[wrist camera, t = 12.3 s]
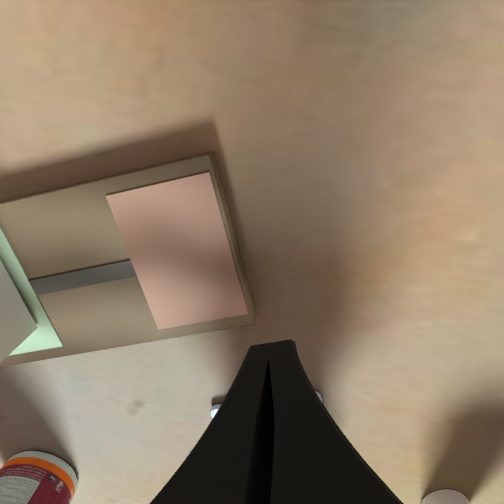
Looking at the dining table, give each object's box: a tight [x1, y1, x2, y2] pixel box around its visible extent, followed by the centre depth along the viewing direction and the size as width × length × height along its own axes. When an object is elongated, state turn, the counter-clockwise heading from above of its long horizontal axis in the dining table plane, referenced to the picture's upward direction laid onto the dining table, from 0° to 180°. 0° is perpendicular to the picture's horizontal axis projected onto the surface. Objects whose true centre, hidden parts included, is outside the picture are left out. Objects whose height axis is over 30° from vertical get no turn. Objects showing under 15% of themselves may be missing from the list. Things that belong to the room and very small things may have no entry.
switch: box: [0, 151, 255, 367], centre depth 21 cm, size 10×22×2 cm, turn 103°
